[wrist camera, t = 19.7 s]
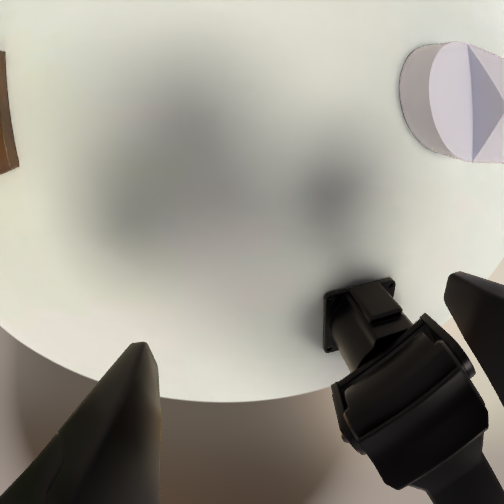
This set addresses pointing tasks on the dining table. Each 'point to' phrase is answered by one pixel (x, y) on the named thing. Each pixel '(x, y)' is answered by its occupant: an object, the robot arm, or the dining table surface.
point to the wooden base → (5, 125)
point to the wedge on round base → (455, 101)
